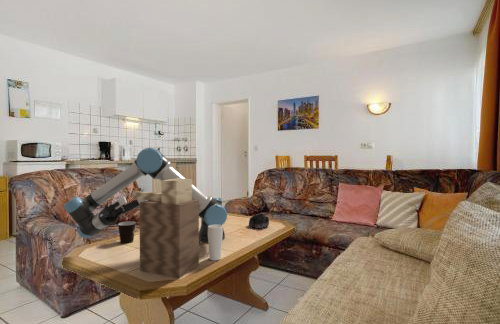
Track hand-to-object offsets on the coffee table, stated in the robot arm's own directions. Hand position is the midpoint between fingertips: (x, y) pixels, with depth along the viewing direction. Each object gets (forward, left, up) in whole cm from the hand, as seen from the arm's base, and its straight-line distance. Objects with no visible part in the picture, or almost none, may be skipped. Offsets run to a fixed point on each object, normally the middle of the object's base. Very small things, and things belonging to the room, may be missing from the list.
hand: (137, 197), depth 120 cm
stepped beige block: (-9, +7, -1) cm, 11 cm away
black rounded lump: (-73, -41, -29) cm, 89 cm away
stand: (-13, +10, -29) cm, 33 cm away
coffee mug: (+6, -35, -29) cm, 46 cm away
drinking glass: (-33, +6, -29) cm, 44 cm away
